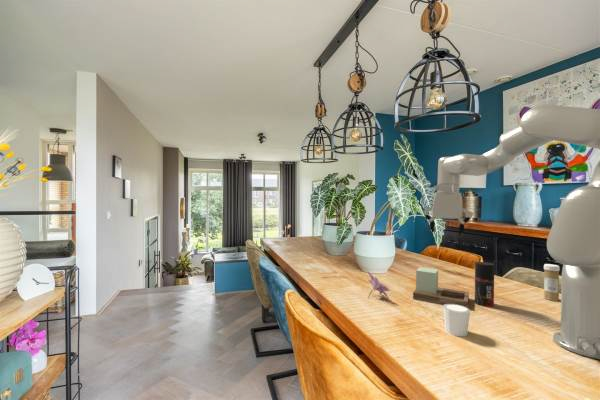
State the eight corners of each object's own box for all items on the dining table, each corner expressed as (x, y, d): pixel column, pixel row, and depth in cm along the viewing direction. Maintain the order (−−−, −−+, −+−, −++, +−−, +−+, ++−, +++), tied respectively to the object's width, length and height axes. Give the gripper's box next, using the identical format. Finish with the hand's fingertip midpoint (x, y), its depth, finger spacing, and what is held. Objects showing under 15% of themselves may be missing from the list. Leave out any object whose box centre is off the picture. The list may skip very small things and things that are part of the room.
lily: (389, 308, 101) (398, 283, 104) (359, 293, 103) (368, 269, 106) (382, 306, 113) (390, 284, 115) (355, 292, 115) (364, 271, 117)
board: (467, 309, 98) (467, 285, 98) (413, 298, 108) (413, 277, 108) (468, 298, 109) (469, 276, 109) (419, 289, 119) (419, 270, 119)
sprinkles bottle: (560, 300, 108) (561, 265, 108) (557, 302, 106) (557, 266, 106) (545, 296, 112) (546, 263, 112) (541, 298, 110) (542, 264, 110)
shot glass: (445, 324, 86) (445, 301, 86) (471, 331, 82) (471, 307, 82) (440, 332, 81) (440, 308, 81) (467, 340, 76) (467, 314, 76)
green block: (435, 294, 106) (435, 273, 106) (416, 290, 110) (416, 270, 110) (438, 289, 112) (438, 269, 112) (419, 286, 116) (419, 267, 116)
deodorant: (485, 307, 100) (485, 265, 100) (470, 301, 106) (471, 262, 106) (497, 306, 101) (498, 264, 101) (483, 300, 107) (483, 261, 107)
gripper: (422, 188, 110) (420, 231, 110) (473, 189, 100) (471, 236, 101) (425, 188, 116) (424, 230, 117) (474, 189, 106) (472, 234, 107)
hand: (446, 233), depth 109 cm, fingers open, 9 cm apart
